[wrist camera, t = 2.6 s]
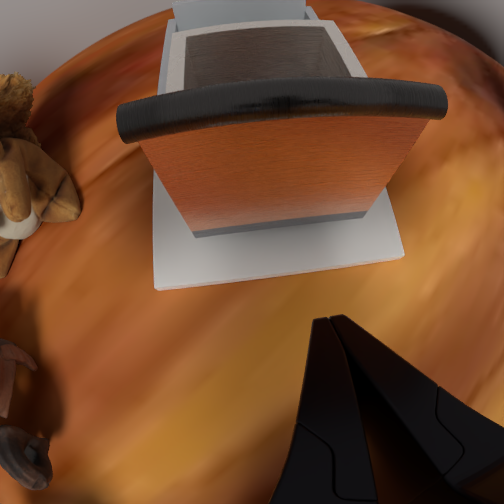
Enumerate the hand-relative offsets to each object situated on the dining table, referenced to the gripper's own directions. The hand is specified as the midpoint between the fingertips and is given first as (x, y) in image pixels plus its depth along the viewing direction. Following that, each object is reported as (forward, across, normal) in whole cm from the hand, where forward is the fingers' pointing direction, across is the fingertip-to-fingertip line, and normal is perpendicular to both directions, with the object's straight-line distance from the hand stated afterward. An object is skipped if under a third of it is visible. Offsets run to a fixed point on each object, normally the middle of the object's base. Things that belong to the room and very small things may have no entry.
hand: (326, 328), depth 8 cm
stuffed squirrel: (+16, +20, -2) cm, 25 cm away
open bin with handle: (+13, 0, -2) cm, 13 cm away
